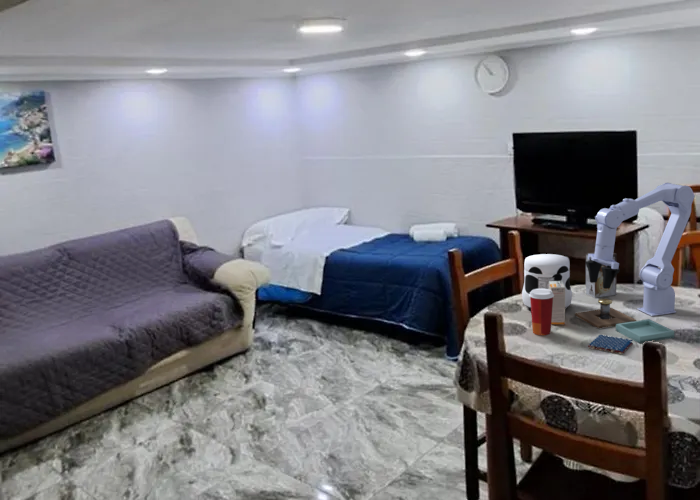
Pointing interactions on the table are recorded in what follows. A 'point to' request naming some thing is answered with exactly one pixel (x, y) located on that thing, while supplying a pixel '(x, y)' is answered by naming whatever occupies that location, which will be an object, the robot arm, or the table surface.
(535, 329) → the paper cup
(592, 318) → the walnut socket
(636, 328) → the teal tray
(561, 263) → the milk container
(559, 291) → the supplement box
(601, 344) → the woven mat
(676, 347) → the table surface
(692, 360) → the table surface
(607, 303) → the gunmetal pin
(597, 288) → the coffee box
